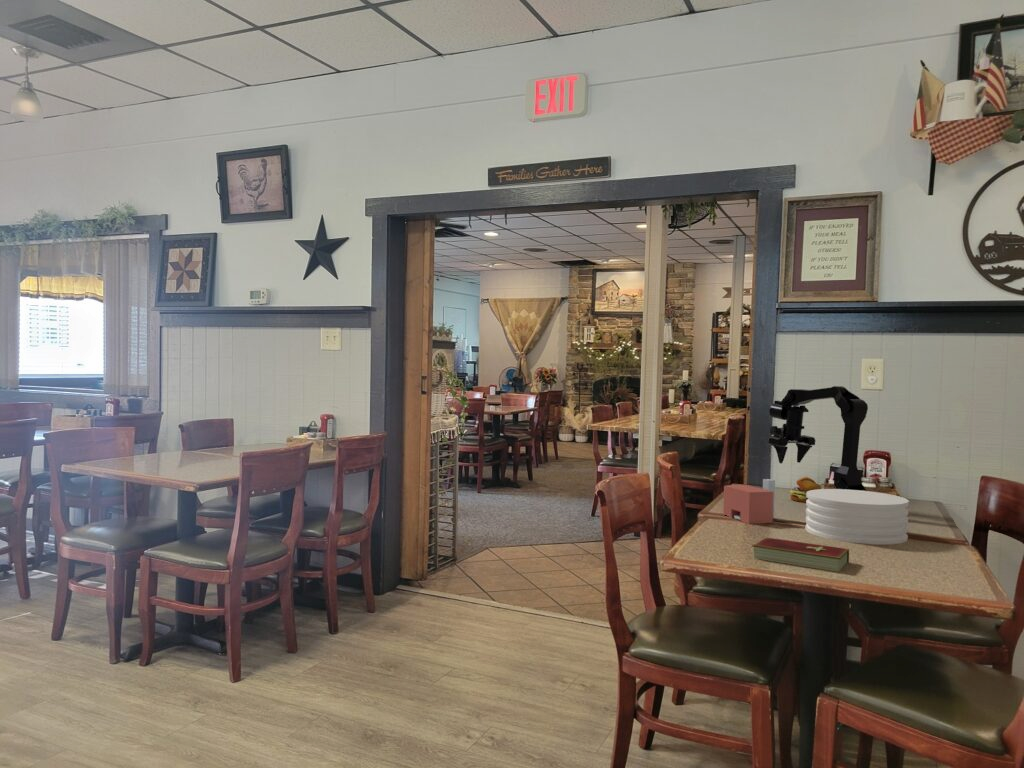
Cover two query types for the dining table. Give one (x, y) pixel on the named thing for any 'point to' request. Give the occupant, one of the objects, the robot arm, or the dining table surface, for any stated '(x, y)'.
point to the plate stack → (857, 516)
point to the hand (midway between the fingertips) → (789, 462)
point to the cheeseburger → (803, 489)
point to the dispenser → (748, 503)
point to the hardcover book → (801, 554)
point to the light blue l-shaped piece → (767, 485)
